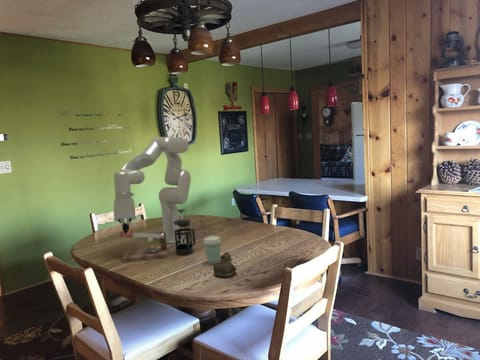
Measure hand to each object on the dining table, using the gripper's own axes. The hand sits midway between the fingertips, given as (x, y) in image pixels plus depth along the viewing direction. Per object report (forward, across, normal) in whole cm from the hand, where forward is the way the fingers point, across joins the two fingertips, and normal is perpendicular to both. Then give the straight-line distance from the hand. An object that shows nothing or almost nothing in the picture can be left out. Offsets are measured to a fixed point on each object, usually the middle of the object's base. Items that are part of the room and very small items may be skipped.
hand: (126, 231), depth 191 cm
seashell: (+15, -44, +37) cm, 60 cm away
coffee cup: (+14, -42, +19) cm, 48 cm away
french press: (+14, -29, -1) cm, 32 cm away
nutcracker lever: (+5, -8, -1) cm, 10 cm away
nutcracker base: (+14, -9, -1) cm, 17 cm away
